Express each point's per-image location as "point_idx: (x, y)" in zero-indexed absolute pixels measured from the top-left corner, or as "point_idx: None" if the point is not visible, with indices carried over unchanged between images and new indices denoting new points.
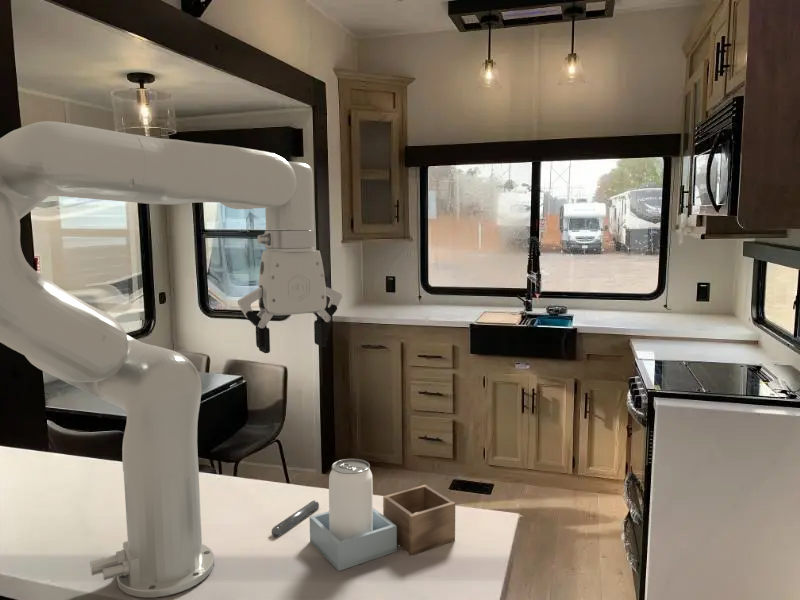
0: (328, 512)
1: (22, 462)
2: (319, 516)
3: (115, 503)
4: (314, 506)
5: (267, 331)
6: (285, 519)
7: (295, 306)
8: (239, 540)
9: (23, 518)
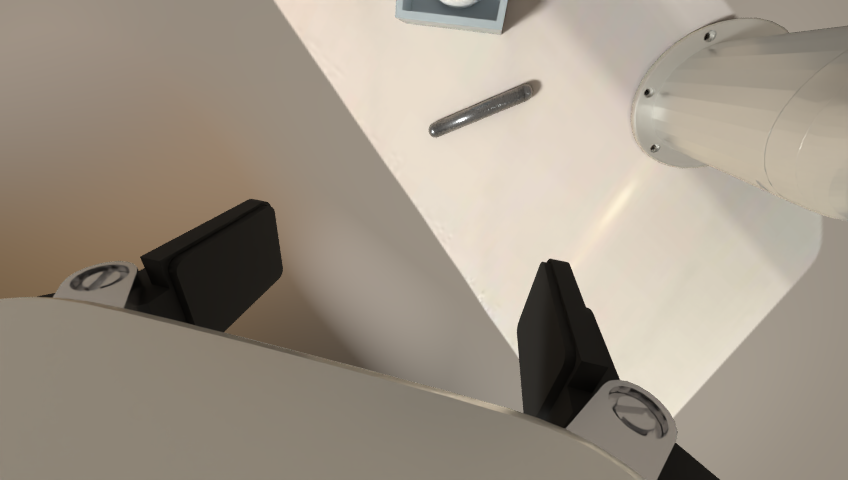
0: (467, 21)
1: None
2: (487, 20)
3: (615, 315)
4: (440, 121)
5: (584, 341)
6: (500, 106)
7: (282, 441)
8: (572, 116)
9: (711, 350)
